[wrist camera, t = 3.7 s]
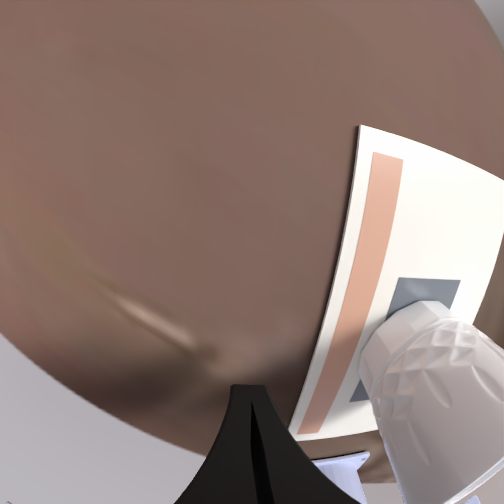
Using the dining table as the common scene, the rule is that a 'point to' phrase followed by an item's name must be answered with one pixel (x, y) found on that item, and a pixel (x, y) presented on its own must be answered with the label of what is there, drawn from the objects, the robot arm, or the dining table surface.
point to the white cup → (436, 401)
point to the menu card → (397, 265)
